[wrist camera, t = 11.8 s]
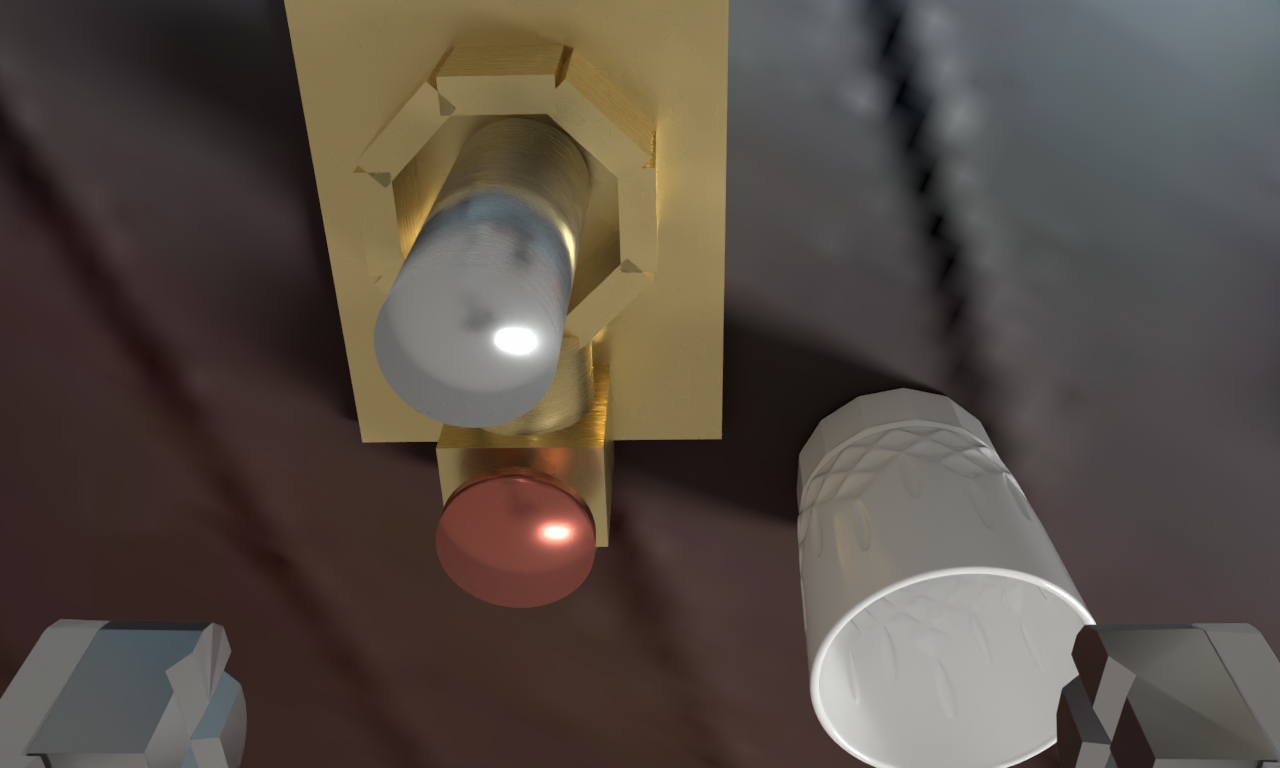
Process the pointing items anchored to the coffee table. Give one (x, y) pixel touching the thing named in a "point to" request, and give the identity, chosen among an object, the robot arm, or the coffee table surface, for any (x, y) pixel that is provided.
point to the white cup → (928, 590)
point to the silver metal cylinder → (488, 279)
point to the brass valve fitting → (608, 255)
